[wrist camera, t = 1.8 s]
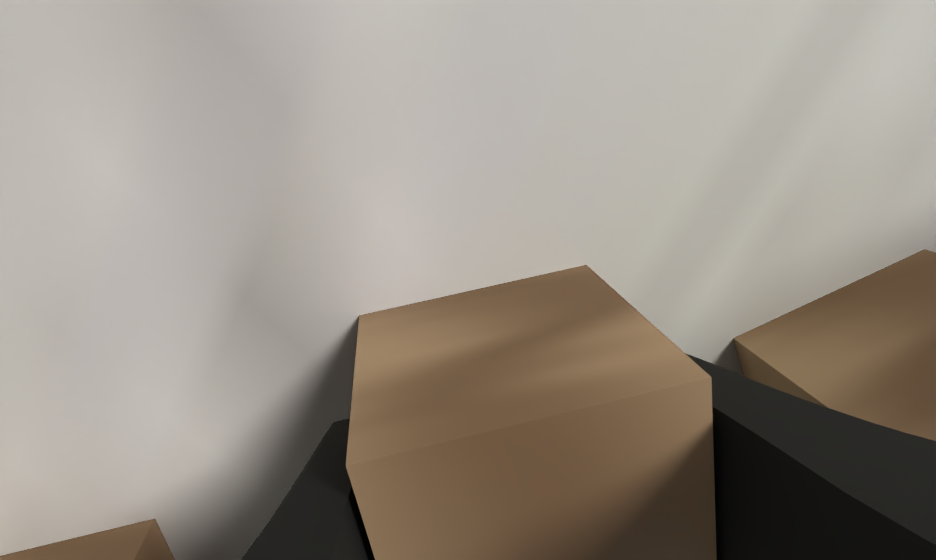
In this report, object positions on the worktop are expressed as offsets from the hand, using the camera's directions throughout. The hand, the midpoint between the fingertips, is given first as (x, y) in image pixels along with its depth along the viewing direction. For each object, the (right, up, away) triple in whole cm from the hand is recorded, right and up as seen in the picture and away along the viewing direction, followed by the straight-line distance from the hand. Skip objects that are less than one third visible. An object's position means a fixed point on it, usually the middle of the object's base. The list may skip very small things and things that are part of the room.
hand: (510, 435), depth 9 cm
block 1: (0, 0, +1) cm, 2 cm away
